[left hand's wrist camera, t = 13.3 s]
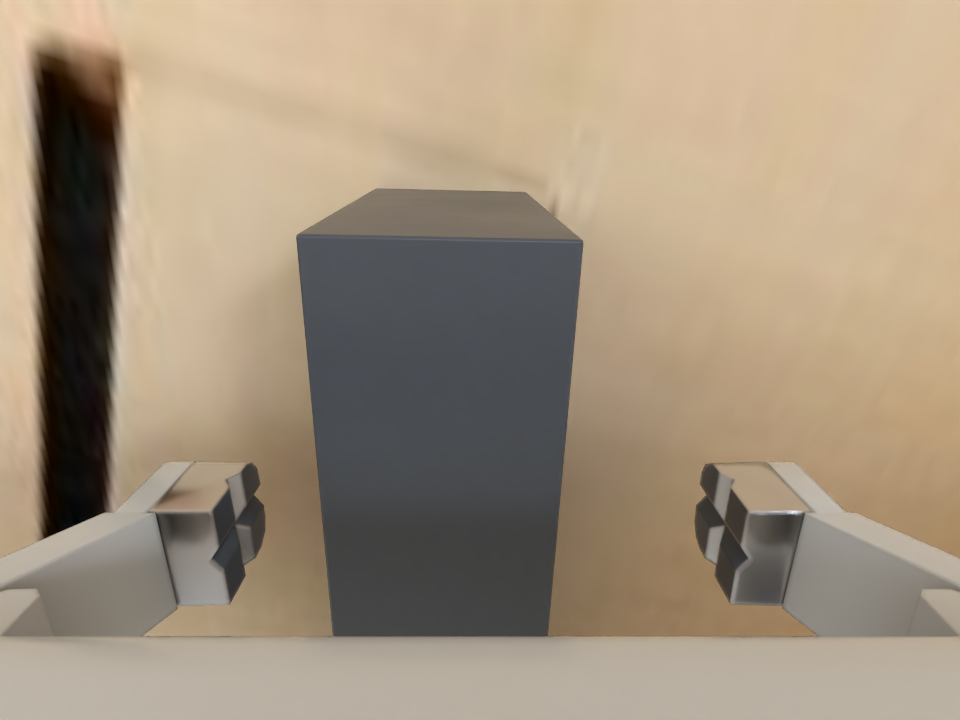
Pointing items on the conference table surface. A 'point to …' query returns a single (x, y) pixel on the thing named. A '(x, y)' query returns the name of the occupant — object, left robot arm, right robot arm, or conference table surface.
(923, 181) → the conference table surface
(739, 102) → the conference table surface
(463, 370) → the bar
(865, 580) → the left robot arm
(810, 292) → the conference table surface
